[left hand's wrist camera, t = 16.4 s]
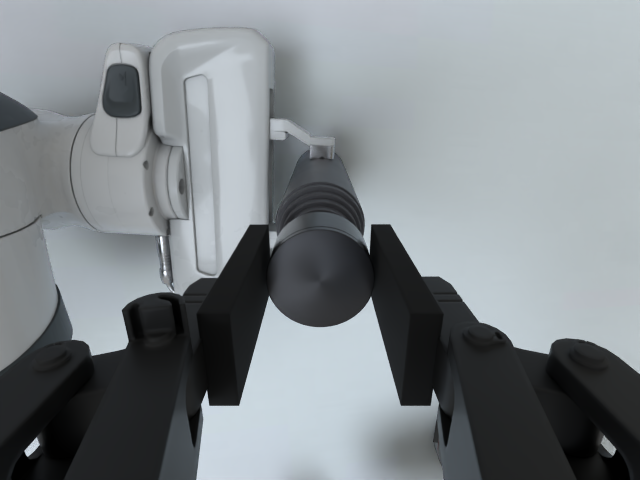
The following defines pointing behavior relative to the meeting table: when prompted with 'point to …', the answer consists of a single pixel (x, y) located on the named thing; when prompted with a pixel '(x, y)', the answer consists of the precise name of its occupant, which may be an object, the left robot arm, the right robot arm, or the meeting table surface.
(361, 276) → the cap
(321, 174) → the bottle
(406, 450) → the meeting table surface
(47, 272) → the right robot arm
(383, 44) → the meeting table surface
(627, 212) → the meeting table surface
